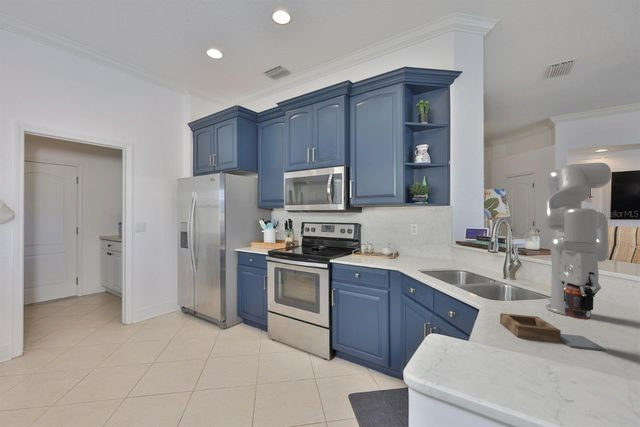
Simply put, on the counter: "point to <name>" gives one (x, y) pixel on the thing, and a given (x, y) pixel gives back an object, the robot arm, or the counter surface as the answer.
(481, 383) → the counter surface
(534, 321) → the pocket frame
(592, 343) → the slate coaster
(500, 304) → the counter surface
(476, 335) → the counter surface
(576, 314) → the supplement bottle
